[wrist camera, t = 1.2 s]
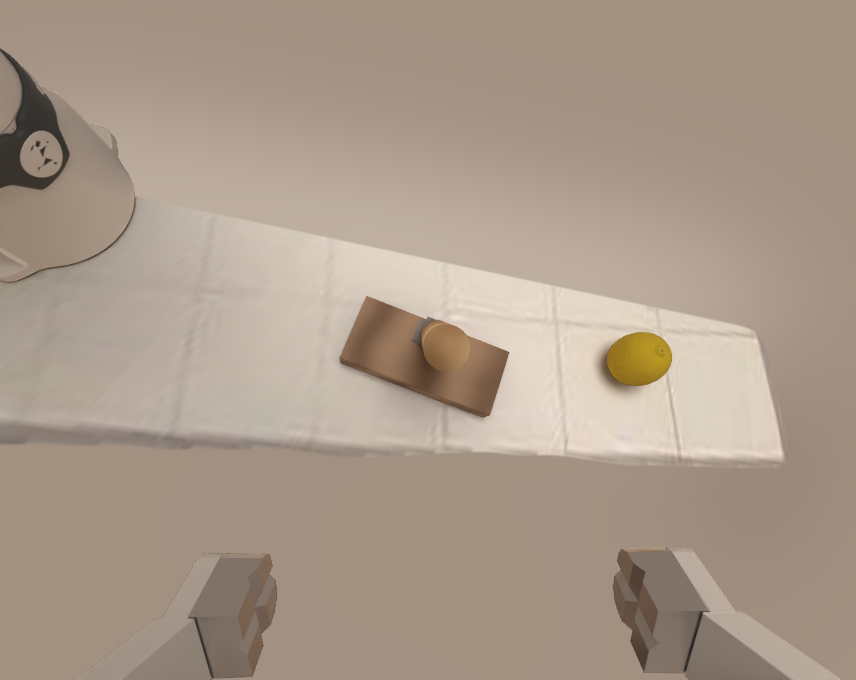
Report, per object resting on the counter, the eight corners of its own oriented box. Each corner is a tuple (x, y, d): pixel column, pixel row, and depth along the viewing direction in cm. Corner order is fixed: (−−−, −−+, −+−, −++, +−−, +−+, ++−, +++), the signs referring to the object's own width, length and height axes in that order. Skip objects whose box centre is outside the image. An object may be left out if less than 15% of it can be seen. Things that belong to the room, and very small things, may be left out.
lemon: (604, 335, 52) (646, 313, 44) (645, 358, 52) (695, 340, 44) (586, 375, 50) (628, 360, 42) (629, 399, 50) (678, 389, 42)
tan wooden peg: (416, 342, 45) (416, 361, 28) (426, 315, 45) (433, 317, 28) (443, 353, 46) (459, 378, 29) (454, 325, 45) (477, 334, 28)
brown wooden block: (340, 362, 46) (339, 357, 44) (366, 304, 48) (366, 295, 46) (483, 417, 47) (490, 415, 44) (501, 357, 49) (510, 351, 46)
